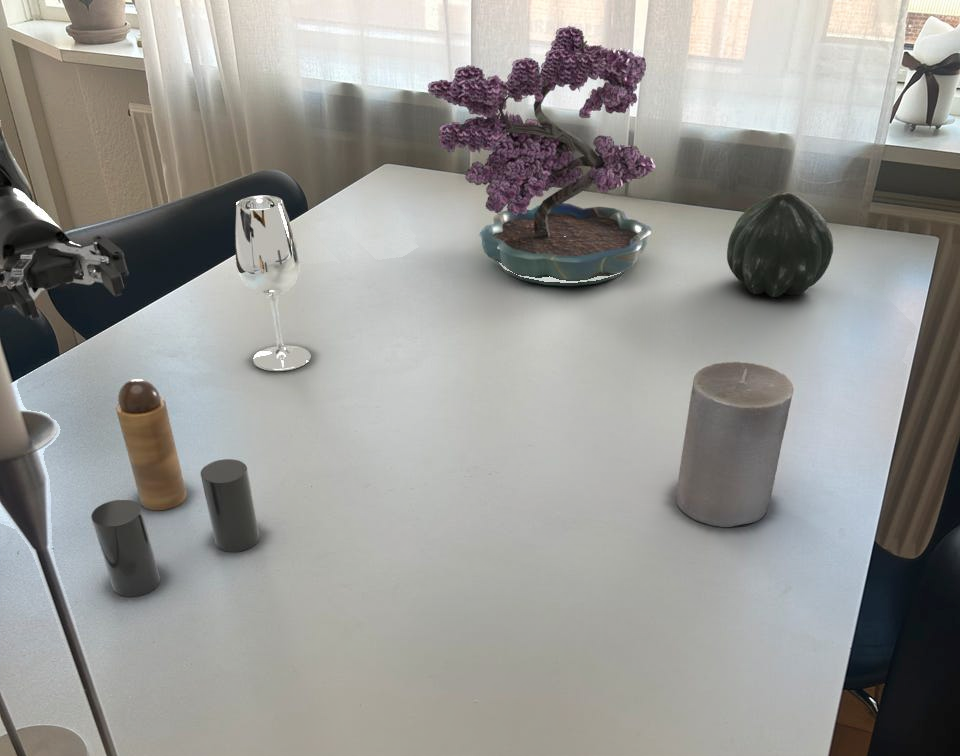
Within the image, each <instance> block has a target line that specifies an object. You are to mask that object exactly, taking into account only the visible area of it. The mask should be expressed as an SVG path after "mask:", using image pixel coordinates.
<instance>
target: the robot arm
mask: <svg viewBox="0 0 960 756" xmlns="http://www.w3.org/2000/svg"><path fill="white" fill-rule="evenodd" d="M1 121H2V120H0V266H1V268H0V311H4V310H5V309H6V308H7V306H12V307H13V308H14V309H16V310H17V311H18V312H19V314H20V315H21V316H22V317H25V318H26V317H30V319H31V320H32V321H33V320H36V319H40V313H39V312H38V309H37V306H36V302H35V301H36V299H37V298H38V297H39V295H40V294H41V292H43V291H47V290H51V289H54V288H56V287H58V286H60V285H64V284H66V285H69V284H71V283H73V284H79V285H86V286H91V285H93V284H94V283H101V284H102V285H103V286H104V287H105V288H106V289H107V290H108V291H109V293H110V294H112V295H113V297H119V296H123V295H122V294H123V293H122V291H123V290H125V285H124V281H123V278H125V277H127V276H129V274H130V273H129V269H128V266H127V263H126V260H125V254H124V251H123V249H121V248H120V247H118V246H117V245H116V244H115V243H114V242H113V241H111V240H110V239H108V238H107V237H106V236H105V235H104V234H103V235H102V234H97V235H95V236H93V237H92V239H93V244H90V245H87V246H83V247H82V245H80V244H77V243H74V242H73V241H72V240H71V239H70V237H69V236H68V235H67V234H66V233H65V231H63V229H62V228H61V227H60V226H59V225H58V224H57V222H55V221H54V220H53V219H52V218H51V217H50V216H49V215H48V213H46V212H45V211H44V210H43V209H42V208H40V207H39V206H38V205H36V204H35V203H34V194H33V190H32V187H31V185H30V183H29V181H28V179H27V177H26V176H25V174H24V172H23V171H22V169H21V168H20V165H19V164H18V162H17V161H16V159H15V157H14V155H13V153H12V152H11V149H10V147H9V145H8V143H7V140H6V136H5V133H4V130H3V126H2V122H1ZM96 266H97V267H98V270H99V271H97V270H96ZM4 282H5V283H4ZM3 285H4V286H3Z"/></svg>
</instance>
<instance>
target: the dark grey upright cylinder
mask: <svg viewBox="0 0 960 756" xmlns="http://www.w3.org/2000/svg"><path fill="white" fill-rule="evenodd" d="M90 519H91V522H92V525H93V528H94V532H95V534H96V538H97V541H98V544H99V547H100V551H101V554H102V558H103V561H104V564H105V567H106V570H107V573H108V577H109V580H110V584H111V587H112V590H113V591H114V592H115V593H116V594H118V595H119V596H122V597H127V598H134V597H139V596H140V597H141V596H144V595H146V594H149V593H150V592H152V591H154V590H155V589H156V588H157V587H159V585H160V582H161V576H160V572H159V568H158V565H157V562H156V557H155V553H154V550H153V546H152V543H151V539H150V535H149V531H148V527H147V524H146V519H145V517H144V513H143V509H142V506H141V504H140V503H138V501H134V500H133V499H132V500H131V499H114V500H110V501H107V502H104V503H102V504H100V505H98V506H97V507H96V508H95V509H94V510H93V511H92V512H91V516H90Z"/></svg>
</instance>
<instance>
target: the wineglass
mask: <svg viewBox="0 0 960 756" xmlns="http://www.w3.org/2000/svg"><path fill="white" fill-rule="evenodd" d="M235 205H236V206H235V223H234V225H235V227H234V251H235V263H236V268H237V272H238V275H239V277H240V279H241V280H242V283H244V284H245V285H246V287H248V289H250V290H251V291H252V292H254V293H255V294H257V295H260V296H262V297H265V298H267V299H268V301H269V303H270V307H271V312H272V317H273V324H274V330H275V337H276V345H274V346H271V347H266V348H264V349H262V350H260V351H258V352H257V353H256V354H255V355H254V356H253V359H252V361H253V362H252V363H253V364H254V365H255V366H256V367H257V368H259V369H261V370H264V371H270V372H287V371H293V370H296V369H299V368H301V367H303V366H305V365H307V364H308V362H309V361H310V360H311V357H312V356H311V353H310V352H309V350H308V349H306V348H304V347H301V346H299V345H298V346H297V345H289V344H286V345H285V344H284V341H283V336H282V330H281V329H282V328H281V321H280V316H279V297H282V296H283V295H284V294H286V293H287V292H288V291H289V290H291V288H292V287H293V286H294V285H295V284H296V281H297V279H298V278H299V276H300V275H299V274H300V270H301V259H300V255H299V249H298V243H297V241H296V237H295V234H294V231H293V228H292V224H291V221H290V217H289V215H288V212H287V210H286V207H285V204H284V201H283V199H282V198H280V197H278V196H275V195H274V196H273V195H253V196H247V197H245V198H242V199H239V200H238V201H237V202H236V204H235Z"/></svg>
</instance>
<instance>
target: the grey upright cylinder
mask: <svg viewBox="0 0 960 756" xmlns="http://www.w3.org/2000/svg"><path fill="white" fill-rule="evenodd" d="M200 479H201V484H202V487H203V492H204V498H205V502H206V506H207V511H208V515H209V520H210V524H211V531H212V533H213V538H214V543H215V545H216V547H217V548H218V549H220V550H222V551H224V552H227V553H237V552H238V553H239V552H243V551H248V550H249V549H251V548H253V547H255V546H256V545H257V544H258V542H259V540H260V532H259V525H258V520H257V515H256V510H255V509H256V508H255V504H254V499H253V494H252V489H251V488H252V487H251V481H250V476H249V471H248V467H247V464H245V463H244V462H243V461H241V460H238V459H233V458H232V459H231V458H226V459H225V458H224V459H218V460H214V461H212V462H210V463H207V464H205V465H204V466H203V467H202V468H201V471H200Z"/></svg>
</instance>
